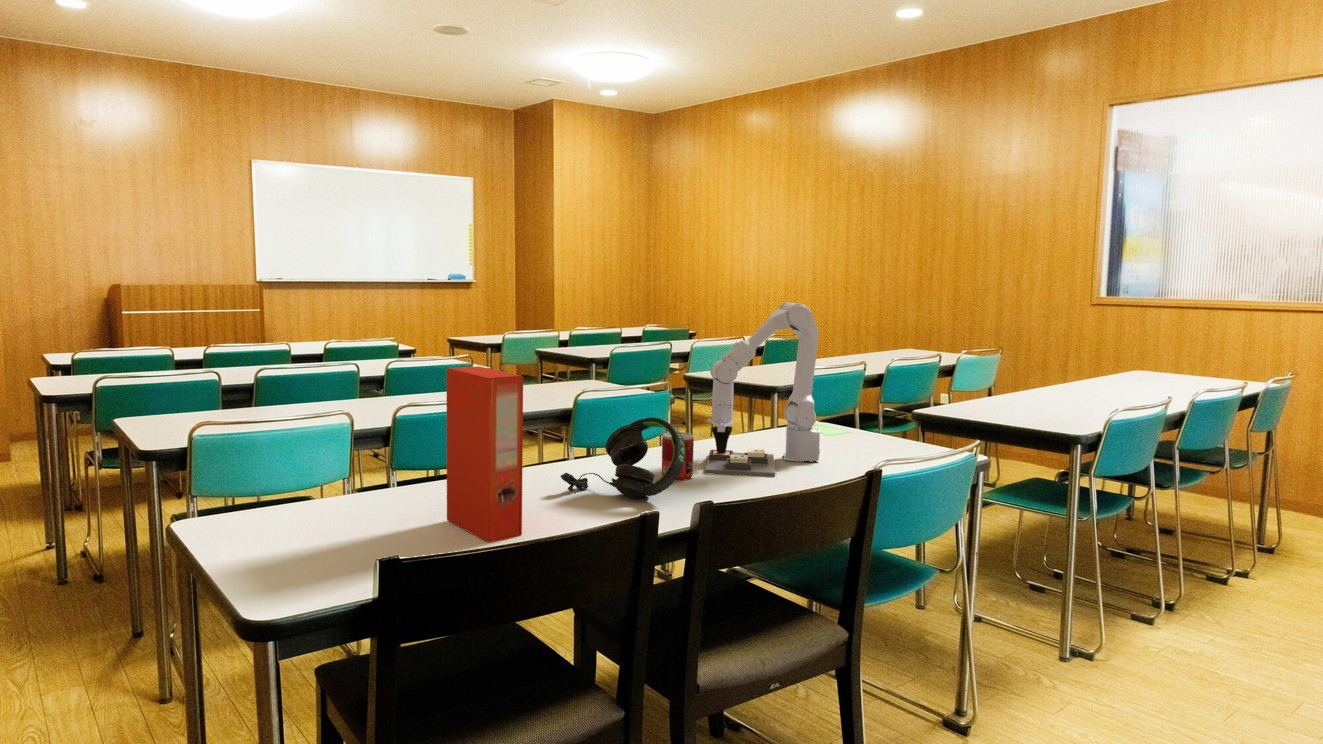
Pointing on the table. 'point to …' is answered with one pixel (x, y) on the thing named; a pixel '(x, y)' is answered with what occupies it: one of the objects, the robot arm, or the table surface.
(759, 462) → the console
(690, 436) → the canned food
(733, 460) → the key two
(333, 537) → the table surface
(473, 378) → the file binder
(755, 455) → the key one
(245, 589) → the table surface
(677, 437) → the headset
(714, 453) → the key three
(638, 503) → the table surface
